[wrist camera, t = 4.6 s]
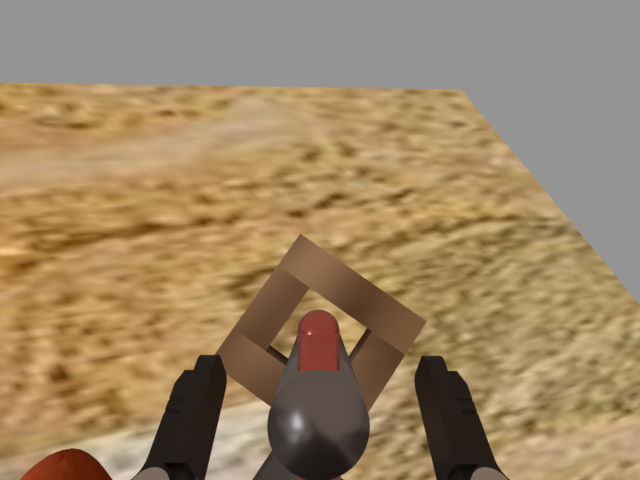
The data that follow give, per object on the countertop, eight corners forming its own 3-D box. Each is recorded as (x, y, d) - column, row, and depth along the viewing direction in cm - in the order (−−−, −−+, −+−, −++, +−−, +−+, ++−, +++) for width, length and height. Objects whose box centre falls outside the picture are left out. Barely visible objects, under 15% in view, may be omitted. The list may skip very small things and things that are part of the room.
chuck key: (340, 372, 20) (372, 520, 8) (298, 372, 20) (265, 520, 8) (339, 290, 20) (367, 312, 8) (298, 290, 20) (268, 312, 8)
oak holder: (218, 354, 20) (209, 361, 18) (301, 236, 21) (300, 233, 19) (337, 442, 19) (339, 457, 18) (418, 317, 20) (427, 321, 19)
